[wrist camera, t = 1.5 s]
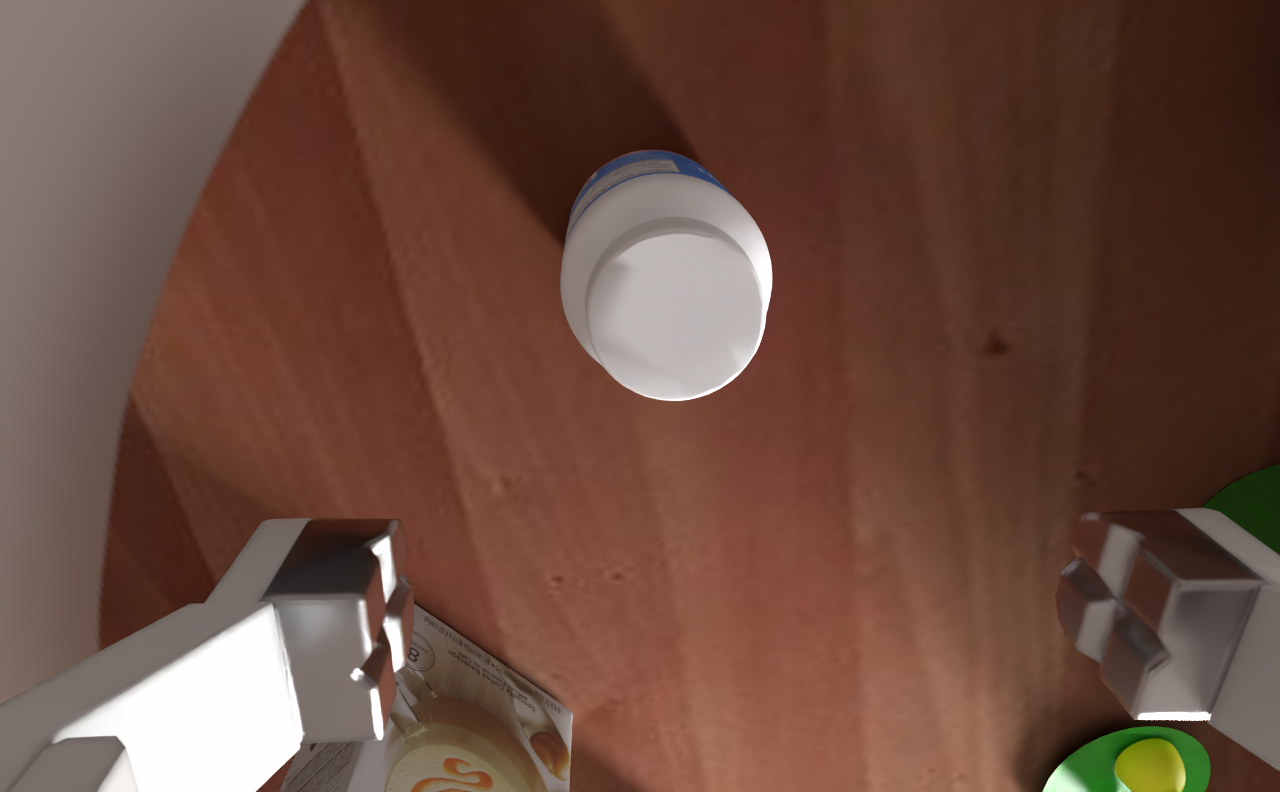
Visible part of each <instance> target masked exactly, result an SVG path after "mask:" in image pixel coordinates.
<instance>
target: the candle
mask: <svg viewBox="0 0 1280 792" xmlns="http://www.w3.org/2000/svg"><path fill="white" fill-rule="evenodd" d="M1201 508H1207V509H1211V510H1215V511H1219V512H1221V513H1222V514H1223V515H1225V516H1226V517H1227V518H1229V519H1230V520H1232V521H1233V522H1234V523H1236V524H1237V525H1238V526H1240V527H1241V528H1243V529H1244V530H1245V531H1247V532H1248V533H1249V534H1251V535H1252V536H1254V537H1255V538H1256V539H1258V540H1259V541H1260V542H1262V543H1263V544H1265V545H1266V546H1267V547H1269V548H1270V549H1271V550H1273V551H1274V552H1276V553H1277V554H1278V555H1280V465H1275V466H1270V467H1267V468H1265V469H1262V470H1259V471H1256V472H1253V473H1251V474H1249V475H1247V476H1245V477H1243V478H1241V479H1239V480H1237V481H1235V482H1233V483H1232V484H1230V485H1228V486H1227V487H1226V488H1224V489H1223V490H1221V491H1220V492H1219V493H1217V494H1216V495H1214V496H1213V497H1212V498H1211V499H1210V500H1209V501H1208V502H1207V503H1206V504H1204V505H1203V506H1202V507H1201Z"/></svg>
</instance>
